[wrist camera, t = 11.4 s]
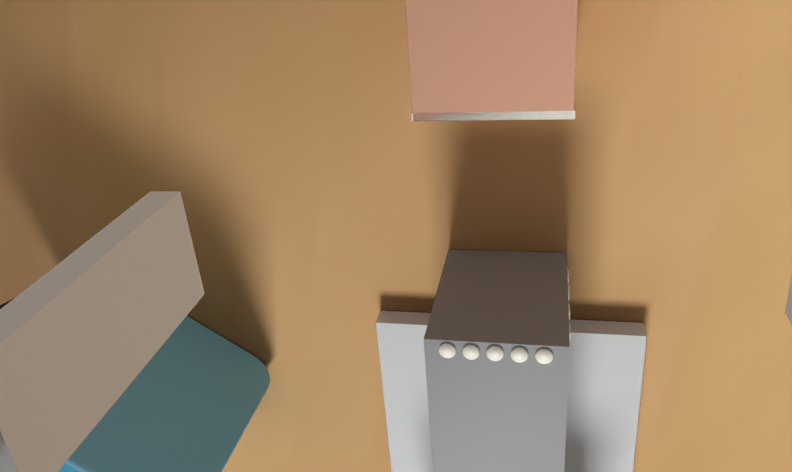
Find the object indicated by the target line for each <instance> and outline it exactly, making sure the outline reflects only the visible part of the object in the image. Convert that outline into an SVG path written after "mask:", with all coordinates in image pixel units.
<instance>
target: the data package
mask: <svg viewBox="0 0 792 472" xmlns="http://www.w3.org/2000/svg"><path fill="white" fill-rule="evenodd" d="M269 382H270V377H269V373H268V370H267V368H266V367H265V365H264V364H263V363H262V362H261V361H260V360H259V359H258V358H257V357H255V356H254V355H252V354H250V353H249V352H247V351H245V350H244V349H242V348H240V347H239V346H237V345H235V344H234V343H232V342H230V341H229V340H227V339H225V338H223V337H222V336H220V335H218V334H217V333H215V332H213V331H212V330H210V329H208V328H207V327H205V326H203V325H202V324H200V323H198V322H197V321H195V320H193V319H192V318H190V317H188V316H186V317H185V319H184V320H183V321H182V322H181V323H180V325H179V326H178V327H177V328H176V329H175V331H174V332H173V333H172V334H171V335H170V337H169V338H168V339H167V340H166V341H165V343H164V344H163V345H162V346H161V347H160V349H159V350H158V351H157V352H156V354H155V355H154V356H153V357H152V358H151V360H150V361H149V362H148V363H147V364H146V366H145V367H144V368H143V369H142V370H141V372H140V373H139V374H138V375H137V376H136V378H135V379H134V380H133V381H132V382H131V384H130V385H129V386H128V387H127V388H126V390H125V391H124V392H123V393H122V395H121V396H120V397H119V398H118V399H117V401H116V402H115V403H114V404H113V405H112V407H111V408H110V409H109V410H108V411H107V413H106V414H105V415H104V416H103V417H102V419H101V420H100V421H99V422H98V423H97V425H96V426H95V427H94V428H93V430H92V431H91V432H90V433H89V434H88V436H87V437H86V438H85V439H84V440H83V442H82V443H81V444H80V445H79V446H78V448H77V449H76V450H75V451H74V452H73V454H72V455H71V456H70V457H69V458H68V460H67V461H66V462H65V463H64V465H63V466H62V467H61V468H60V469H59V471H58V472H222V470H223V468H224V467H225V465H226V463H227V461H228V459H229V457H230V456H231V454H232V452H233V450H234V448H235V447H236V445H237V443H238V441H239V439H240V438H241V436H242V434H243V432H244V430H245V428H246V427H247V425H248V423H249V421H250V419H251V418H252V416H253V414H254V412H255V410H256V409H257V407H258V405H259V403H260V401H261V400H262V398H263V396H264V394H265V392H266V390H267V389H268V386H269Z"/></svg>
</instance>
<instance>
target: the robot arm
mask: <svg viewBox="0 0 792 472" xmlns="http://www.w3.org/2000/svg"><path fill="white" fill-rule="evenodd" d="M204 294H205V293H204V289H203V284H202V280H201V276H200V272H199V268H198V263H197V259H196V255H195V251H194V247H193V242H192V238H191V234H190V230H189V226H188V221H187V217H186V213H185V209H184V205H183V200H182V196H181V192H180V191H150V192H149V193H148V194H146V195H145V196H144V197H142V198H141V199H140V200H139V201H137V202H136V203H135V204H134V205H132V206H131V207H130V208H129V209H127V210H126V211H125V212H123V213H122V214H121V215H120V216H118V217H117V218H116V219H115V220H113V221H112V222H111V223H109V224H108V225H107V226H106V227H104V228H103V229H102V230H101V231H99V232H98V233H97V234H95V235H94V236H93V237H92V238H90V239H89V240H88V241H87V242H85V243H84V244H83V245H81V246H80V247H79V248H78V249H76V250H75V251H74V252H73V253H71V254H70V255H69V256H67V257H66V258H65V259H64V260H62V261H61V262H60V263H59V264H57V265H56V266H55V267H53V268H52V269H51V270H50V271H48V272H47V273H46V274H45V275H43V276H42V277H41V278H40V279H38V280H37V281H36V282H34V283H33V284H32V285H31V286H29V287H28V288H27V289H26V290H24V291H23V292H22V293H20V294H19V295H18V296H17V297H15V298H14V299H12V300H10V301H8V302H6V303H4V304H2V305H0V472H58V471H59V469H60V468H61V467H62V466H63V465H64V463H65V462H66V461H67V460H68V458H69V457H70V456H71V455H72V454H73V452H74V451H75V450H76V449H77V448H78V446H79V445H80V444H81V443H82V442H83V440H84V439H85V438H86V437H87V436H88V434H89V433H90V432H91V431H92V430H93V428H94V427H95V426H96V425H97V423H98V422H99V421H100V420H101V419H102V417H103V416H104V415H105V414H106V413H107V411H108V410H109V409H110V408H111V407H112V405H113V404H114V403H115V402H116V401H117V399H118V398H119V397H120V396H121V395H122V393H123V392H124V391H125V390H126V388H127V387H128V386H129V385H130V384H131V382H132V381H133V380H134V379H135V378H136V376H137V375H138V374H139V373H140V372H141V370H142V369H143V368H144V367H145V366H146V364H147V363H148V362H149V361H150V360H151V358H152V357H153V356H154V355H155V354H156V352H157V351H158V350H159V349H160V347H161V346H162V345H163V344H164V343H165V341H166V340H167V339H168V338H169V337H170V335H171V334H172V333H173V332H174V331H175V329H176V328H177V327H178V326H179V325H180V323H181V322H182V321H183V320H184V319H185V317H186V316H187V315H188V314H189V312H190V311H191V310H192V309H193V308H194V306H195V305H196V304H197V303H198V302H199V300H200V299H201V298H202V297H203V296H204ZM785 313H786V315H787V317H788V319H789V320H790V322H791V324H792V277H791V283H790V288H789V293H788V299H787V304H786V309H785Z"/></svg>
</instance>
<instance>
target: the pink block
mask: <svg viewBox="0 0 792 472" xmlns="http://www.w3.org/2000/svg"><path fill="white" fill-rule="evenodd" d="M405 4H406V19H407V34H408V49H409V63H410V78H411V93H412V108H413V111H412V121H459V120H542V119H575V102H574V90H575V64H576V38H577V12H578V0H405Z"/></svg>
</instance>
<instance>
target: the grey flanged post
mask: <svg viewBox="0 0 792 472" xmlns="http://www.w3.org/2000/svg"><path fill="white" fill-rule="evenodd" d="M568 283H569V269H567V253H559V252H521V251H484V250H448V254H447V257H446V261H445V264H444V268H443V271H442V275H441V279H440V282H439V286H438V289H437V293H436V296H435V300H434V304H433V307H432V311H431V313H421V312H399V311H380V314H379V316H378V319H377V321H376V328H377V338H378V347H379V356H380V366H381V375H382V384H383V394H384V403H385V412H386V422H387V431H388V440H389V450H390V459H391V468H392V472H633V464H634V454H635V445H636V435H637V425H638V415H639V405H640V396H641V386H642V376H643V366H644V356H645V347H646V337H647V336H646V331H645V326H644V323H637V322H615V321H594V320H572V319H570V304H568V301H569V297H570V288H569V285H568Z"/></svg>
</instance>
